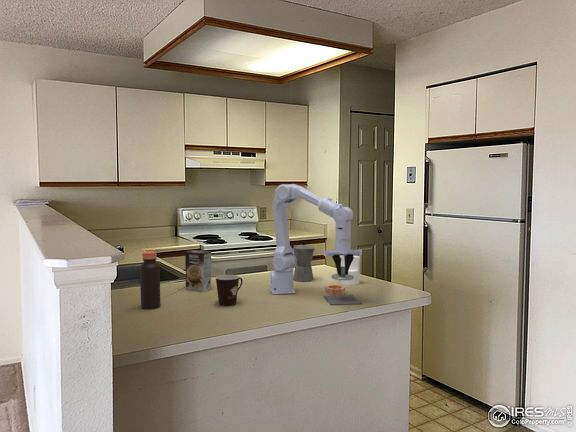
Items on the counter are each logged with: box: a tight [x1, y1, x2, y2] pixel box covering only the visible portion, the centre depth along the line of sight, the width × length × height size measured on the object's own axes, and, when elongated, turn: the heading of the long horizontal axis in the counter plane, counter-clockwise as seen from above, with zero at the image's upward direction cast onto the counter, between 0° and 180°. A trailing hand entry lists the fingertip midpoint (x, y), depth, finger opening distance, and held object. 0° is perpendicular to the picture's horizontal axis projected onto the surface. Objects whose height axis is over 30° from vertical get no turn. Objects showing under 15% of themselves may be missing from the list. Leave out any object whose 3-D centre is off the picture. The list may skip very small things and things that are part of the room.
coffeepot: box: [290, 240, 316, 283], centre depth 210 cm, size 15×9×18 cm, turn 44°
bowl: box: [324, 284, 346, 296], centre depth 186 cm, size 8×8×2 cm
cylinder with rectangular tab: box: [338, 255, 361, 286], centre depth 204 cm, size 9×9×12 cm
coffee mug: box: [215, 274, 243, 307], centre depth 170 cm, size 12×9×10 cm
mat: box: [323, 294, 363, 306], centre depth 175 cm, size 12×12×1 cm
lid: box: [330, 266, 354, 281], centre depth 174 cm, size 8×8×4 cm
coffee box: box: [184, 249, 212, 293], centre depth 191 cm, size 9×6×16 cm
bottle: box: [139, 250, 162, 310], centre depth 165 cm, size 7×7×20 cm
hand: (342, 274), depth 174 cm, fingers closed on lid, 2 cm apart
